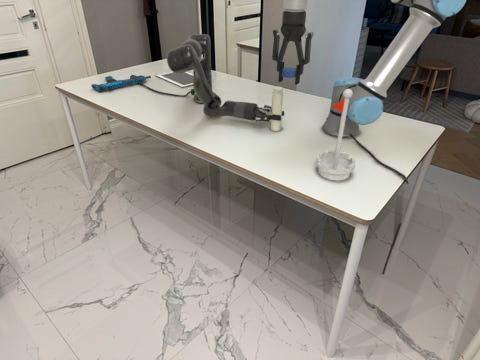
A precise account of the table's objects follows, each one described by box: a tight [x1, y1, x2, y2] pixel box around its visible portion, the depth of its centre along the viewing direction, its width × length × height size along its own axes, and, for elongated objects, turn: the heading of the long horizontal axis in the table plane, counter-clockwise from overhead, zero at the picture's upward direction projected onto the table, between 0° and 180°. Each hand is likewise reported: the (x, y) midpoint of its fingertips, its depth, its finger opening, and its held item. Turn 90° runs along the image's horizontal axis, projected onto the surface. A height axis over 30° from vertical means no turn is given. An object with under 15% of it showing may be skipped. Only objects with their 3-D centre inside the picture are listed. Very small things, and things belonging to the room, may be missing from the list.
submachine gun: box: [90, 74, 152, 92], centre depth 206 cm, size 34×4×25 cm
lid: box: [281, 66, 296, 79], centre depth 119 cm, size 6×6×2 cm
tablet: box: [155, 71, 194, 88], centre depth 216 cm, size 32×20×1 cm, turn 41°
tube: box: [270, 86, 284, 132], centre depth 147 cm, size 5×5×18 cm
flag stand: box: [315, 89, 356, 181], centre depth 112 cm, size 13×13×30 cm
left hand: (282, 115), depth 147 cm, fingers closed on tube, 4 cm apart
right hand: (288, 82), depth 121 cm, fingers closed on lid, 5 cm apart
